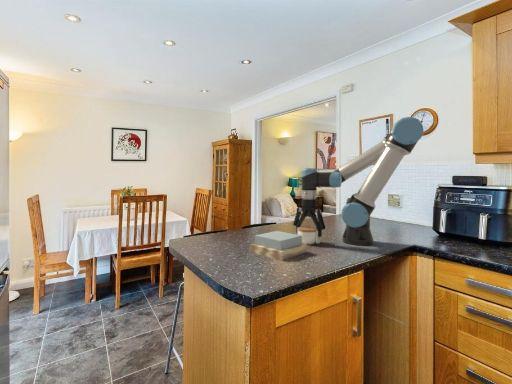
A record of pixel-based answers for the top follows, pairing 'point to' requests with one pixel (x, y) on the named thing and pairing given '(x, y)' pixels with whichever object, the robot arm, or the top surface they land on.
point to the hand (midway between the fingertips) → (308, 241)
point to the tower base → (278, 251)
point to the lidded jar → (307, 234)
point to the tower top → (278, 240)
